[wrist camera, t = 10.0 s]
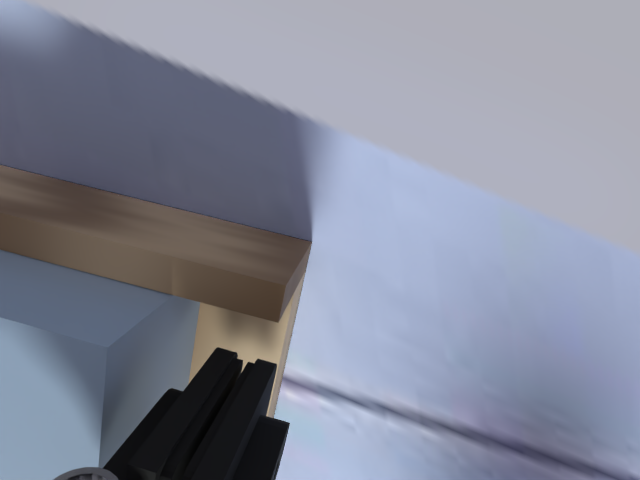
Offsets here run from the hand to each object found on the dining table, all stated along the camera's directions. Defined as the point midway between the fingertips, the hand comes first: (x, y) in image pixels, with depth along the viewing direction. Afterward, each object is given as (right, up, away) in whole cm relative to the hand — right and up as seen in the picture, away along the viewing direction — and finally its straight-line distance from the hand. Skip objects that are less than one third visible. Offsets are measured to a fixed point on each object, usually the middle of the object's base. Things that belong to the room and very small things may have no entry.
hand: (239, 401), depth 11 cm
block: (-4, +2, +2) cm, 5 cm away
